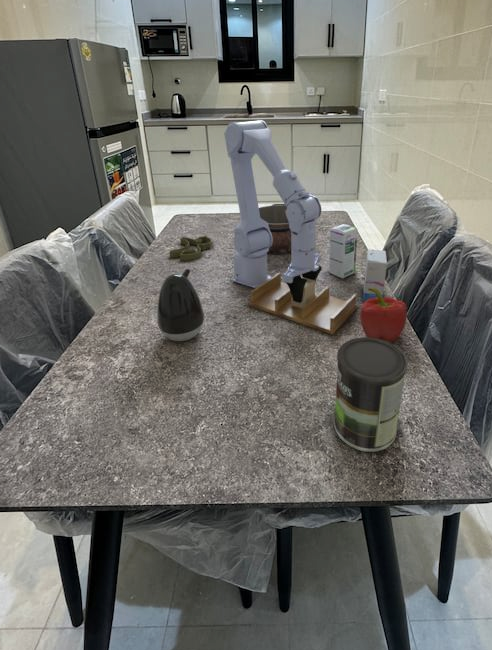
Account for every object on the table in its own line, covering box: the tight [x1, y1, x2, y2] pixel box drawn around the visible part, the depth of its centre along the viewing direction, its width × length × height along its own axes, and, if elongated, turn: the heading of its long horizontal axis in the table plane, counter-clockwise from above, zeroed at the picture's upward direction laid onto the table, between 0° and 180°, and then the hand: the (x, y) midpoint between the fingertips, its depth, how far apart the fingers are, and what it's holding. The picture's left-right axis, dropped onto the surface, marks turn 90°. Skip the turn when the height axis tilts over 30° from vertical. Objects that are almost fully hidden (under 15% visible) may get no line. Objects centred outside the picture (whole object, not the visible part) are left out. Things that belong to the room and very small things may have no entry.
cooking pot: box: [259, 203, 291, 255], centre depth 137 cm, size 30×22×11 cm
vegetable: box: [359, 287, 408, 343], centre depth 85 cm, size 11×10×10 cm
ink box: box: [363, 248, 388, 303], centre depth 101 cm, size 9×5×12 cm, turn 168°
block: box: [291, 276, 316, 308], centre depth 97 cm, size 4×5×6 cm
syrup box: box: [328, 223, 358, 279], centre depth 113 cm, size 6×6×14 cm
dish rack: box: [248, 272, 358, 336], centre depth 97 cm, size 24×14×4 cm, turn 56°
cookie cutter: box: [169, 235, 213, 261], centre depth 134 cm, size 18×12×2 cm, turn 175°
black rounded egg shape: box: [156, 268, 205, 342], centre depth 85 cm, size 10×10×15 cm
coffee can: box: [333, 336, 408, 453], centre depth 61 cm, size 10×10×14 cm
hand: (302, 296), depth 97 cm, fingers closed on block, 5 cm apart
